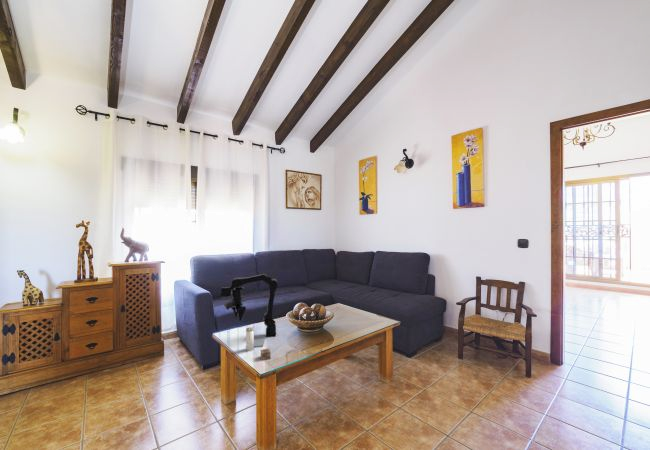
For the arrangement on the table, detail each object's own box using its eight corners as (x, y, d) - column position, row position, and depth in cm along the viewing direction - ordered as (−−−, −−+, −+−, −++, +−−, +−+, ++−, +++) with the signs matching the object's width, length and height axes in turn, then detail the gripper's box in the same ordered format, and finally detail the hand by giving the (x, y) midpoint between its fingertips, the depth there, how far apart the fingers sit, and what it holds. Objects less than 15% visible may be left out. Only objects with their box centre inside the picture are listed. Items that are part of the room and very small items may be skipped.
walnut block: (269, 355, 166) (269, 348, 166) (270, 358, 161) (270, 352, 161) (260, 356, 164) (260, 349, 164) (261, 360, 159) (261, 353, 159)
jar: (254, 347, 176) (254, 327, 176) (253, 350, 171) (253, 329, 171) (247, 348, 175) (246, 327, 175) (245, 351, 171) (245, 330, 171)
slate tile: (264, 340, 187) (264, 339, 187) (262, 346, 177) (262, 345, 177) (249, 341, 186) (249, 339, 186) (247, 347, 176) (246, 346, 176)
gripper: (221, 295, 195) (222, 317, 195) (228, 301, 179) (229, 325, 179) (237, 293, 201) (238, 314, 201) (245, 298, 186) (246, 321, 186)
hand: (237, 318), depth 192 cm, fingers open, 9 cm apart
